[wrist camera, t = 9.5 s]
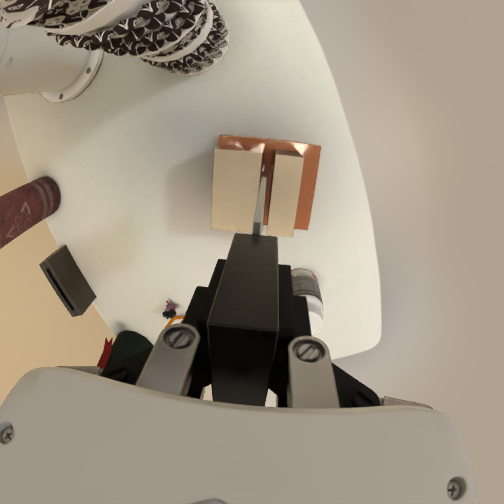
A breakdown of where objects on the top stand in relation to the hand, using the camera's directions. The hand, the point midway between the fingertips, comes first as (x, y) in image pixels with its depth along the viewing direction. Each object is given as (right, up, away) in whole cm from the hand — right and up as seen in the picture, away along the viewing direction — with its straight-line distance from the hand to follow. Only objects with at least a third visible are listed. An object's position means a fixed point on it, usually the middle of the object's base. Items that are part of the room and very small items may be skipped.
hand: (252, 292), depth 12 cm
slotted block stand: (+2, +10, +19) cm, 21 cm away
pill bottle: (+6, -2, +25) cm, 26 cm away
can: (-31, +11, +21) cm, 39 cm away
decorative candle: (-7, +25, +12) cm, 29 cm away
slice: (+3, +9, +18) cm, 21 cm away
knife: (+1, +3, +7) cm, 8 cm away
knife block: (-30, -2, +27) cm, 40 cm away
